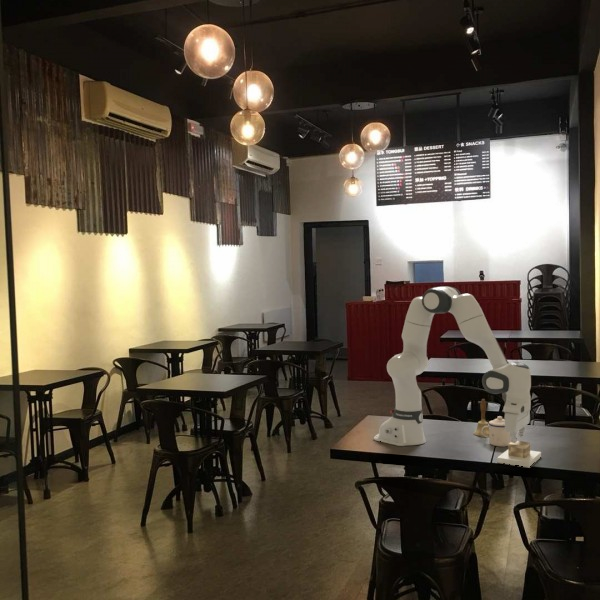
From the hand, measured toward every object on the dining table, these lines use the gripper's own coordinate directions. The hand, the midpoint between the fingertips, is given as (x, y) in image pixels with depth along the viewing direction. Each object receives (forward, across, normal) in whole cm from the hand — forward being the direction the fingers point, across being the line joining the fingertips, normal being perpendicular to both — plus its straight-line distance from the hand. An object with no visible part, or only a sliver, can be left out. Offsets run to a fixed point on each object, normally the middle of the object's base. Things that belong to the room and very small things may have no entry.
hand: (517, 439), depth 242 cm
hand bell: (+9, -30, -24) cm, 40 cm away
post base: (+8, 0, +1) cm, 8 cm away
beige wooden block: (+6, 0, +1) cm, 6 cm away
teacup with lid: (+8, -18, -14) cm, 24 cm away
